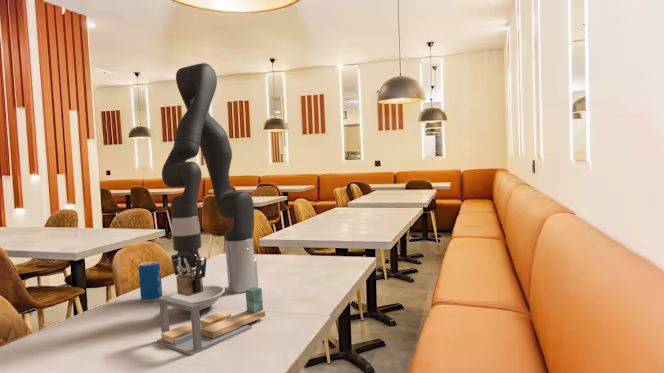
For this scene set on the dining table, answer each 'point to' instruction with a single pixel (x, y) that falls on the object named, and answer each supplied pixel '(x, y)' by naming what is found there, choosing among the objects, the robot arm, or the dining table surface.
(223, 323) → the strip
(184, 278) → the walnut block
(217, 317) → the light wood block
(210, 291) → the dish
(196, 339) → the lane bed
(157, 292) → the beverage can
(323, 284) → the dining table surface
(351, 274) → the dining table surface
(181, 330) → the far strip
